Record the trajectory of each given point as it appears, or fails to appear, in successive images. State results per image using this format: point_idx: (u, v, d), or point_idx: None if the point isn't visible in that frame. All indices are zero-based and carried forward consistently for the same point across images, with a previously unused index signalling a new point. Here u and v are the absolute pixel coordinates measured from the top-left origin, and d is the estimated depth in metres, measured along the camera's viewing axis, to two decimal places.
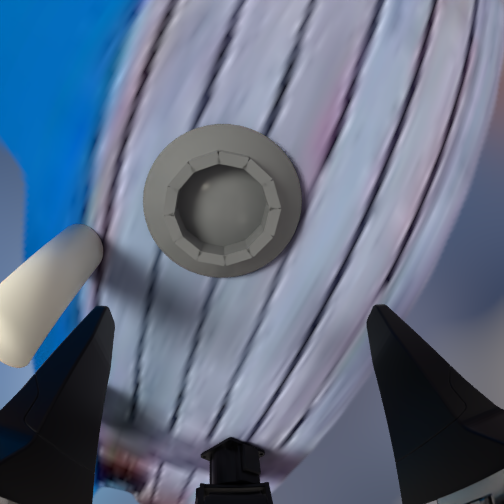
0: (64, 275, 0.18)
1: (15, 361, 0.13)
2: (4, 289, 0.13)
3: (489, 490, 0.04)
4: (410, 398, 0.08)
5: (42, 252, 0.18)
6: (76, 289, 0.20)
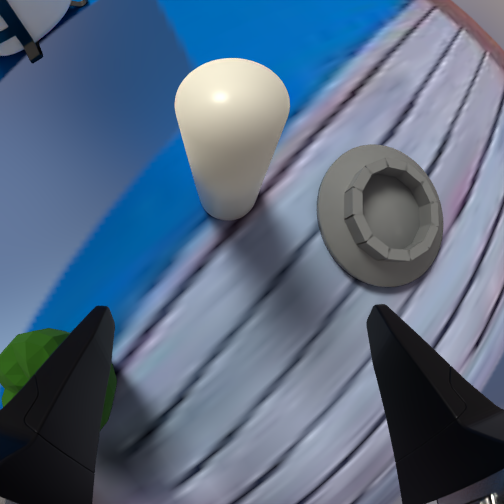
0: None
1: (225, 137, 0.11)
2: None
3: (489, 490, 0.04)
4: (410, 398, 0.08)
5: None
6: (256, 189, 0.18)
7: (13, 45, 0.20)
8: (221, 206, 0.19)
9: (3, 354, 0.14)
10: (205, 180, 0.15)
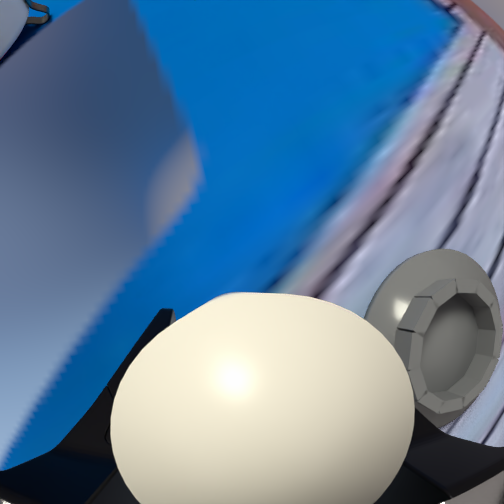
0: None
1: None
2: None
3: None
4: None
5: None
6: None
7: None
8: None
9: None
10: None
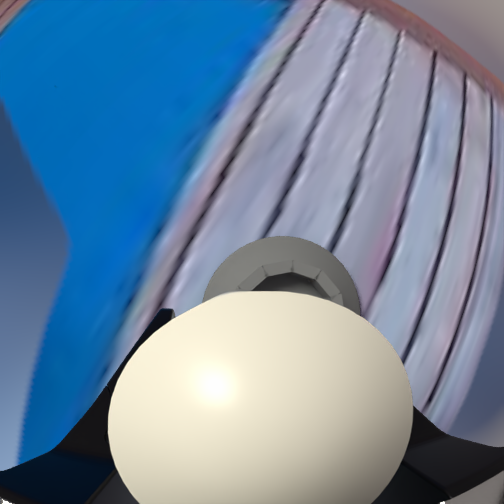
0: None
1: None
2: None
3: None
4: None
5: None
6: None
7: None
8: None
9: None
10: None
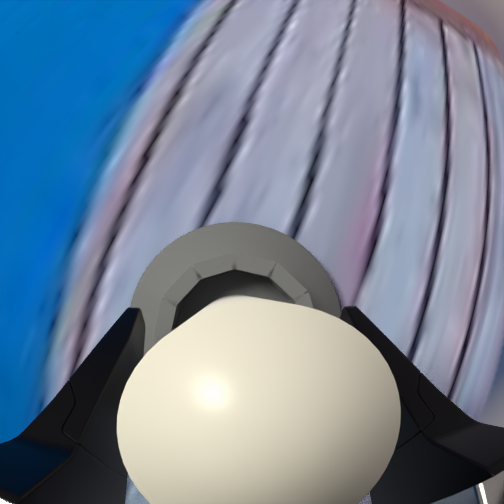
0: None
1: None
2: None
3: None
4: None
5: None
6: None
7: None
8: None
9: None
10: None
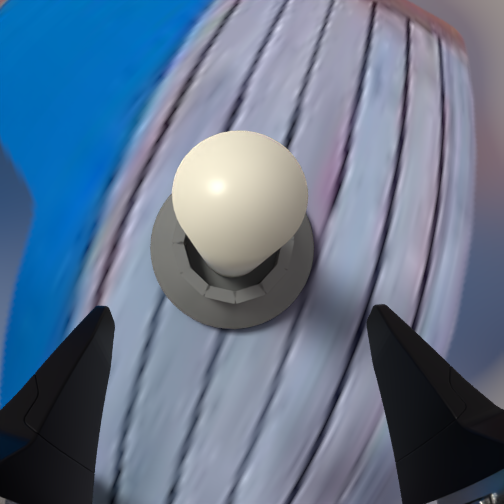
0: None
1: (232, 242, 0.10)
2: None
3: (489, 490, 0.04)
4: (410, 398, 0.08)
5: None
6: None
7: None
8: (226, 273, 0.18)
9: None
10: (209, 261, 0.14)
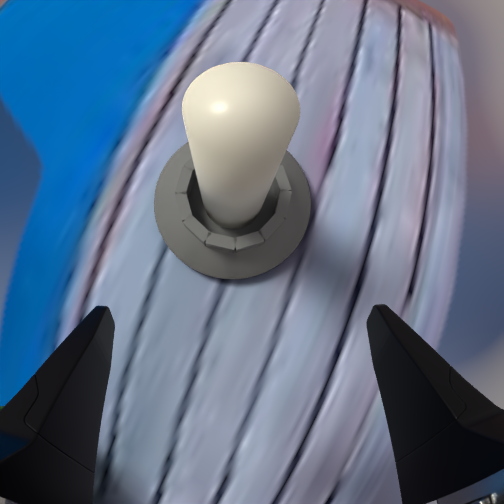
0: None
1: (233, 143, 0.11)
2: None
3: (489, 490, 0.04)
4: (410, 398, 0.08)
5: None
6: (262, 198, 0.18)
7: None
8: (226, 214, 0.19)
9: None
10: (211, 187, 0.15)
